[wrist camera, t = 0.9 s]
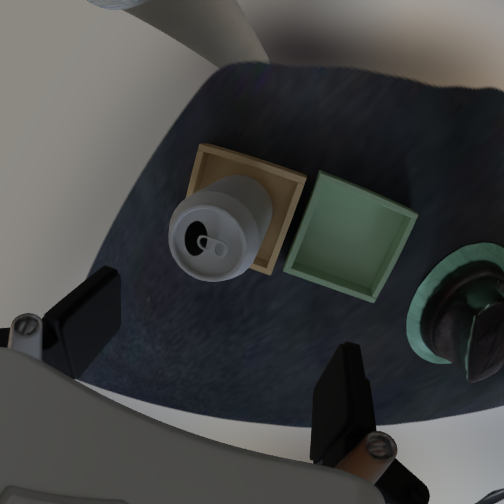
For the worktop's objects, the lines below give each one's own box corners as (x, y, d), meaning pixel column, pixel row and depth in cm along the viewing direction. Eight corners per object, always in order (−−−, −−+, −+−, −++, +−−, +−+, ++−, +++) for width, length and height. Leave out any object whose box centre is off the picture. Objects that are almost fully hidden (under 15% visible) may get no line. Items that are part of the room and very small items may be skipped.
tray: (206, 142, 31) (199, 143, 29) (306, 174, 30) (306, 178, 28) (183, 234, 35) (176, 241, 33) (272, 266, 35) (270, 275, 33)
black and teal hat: (380, 297, 33) (500, 207, 26) (409, 335, 44) (496, 271, 38) (431, 408, 22) (570, 296, 15) (442, 409, 34) (538, 338, 27)
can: (215, 165, 31) (166, 184, 20) (282, 184, 31) (267, 212, 20) (202, 228, 34) (155, 273, 23) (263, 246, 34) (242, 302, 23)
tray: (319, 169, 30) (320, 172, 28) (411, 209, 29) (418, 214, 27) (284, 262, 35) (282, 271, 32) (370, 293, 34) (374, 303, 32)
